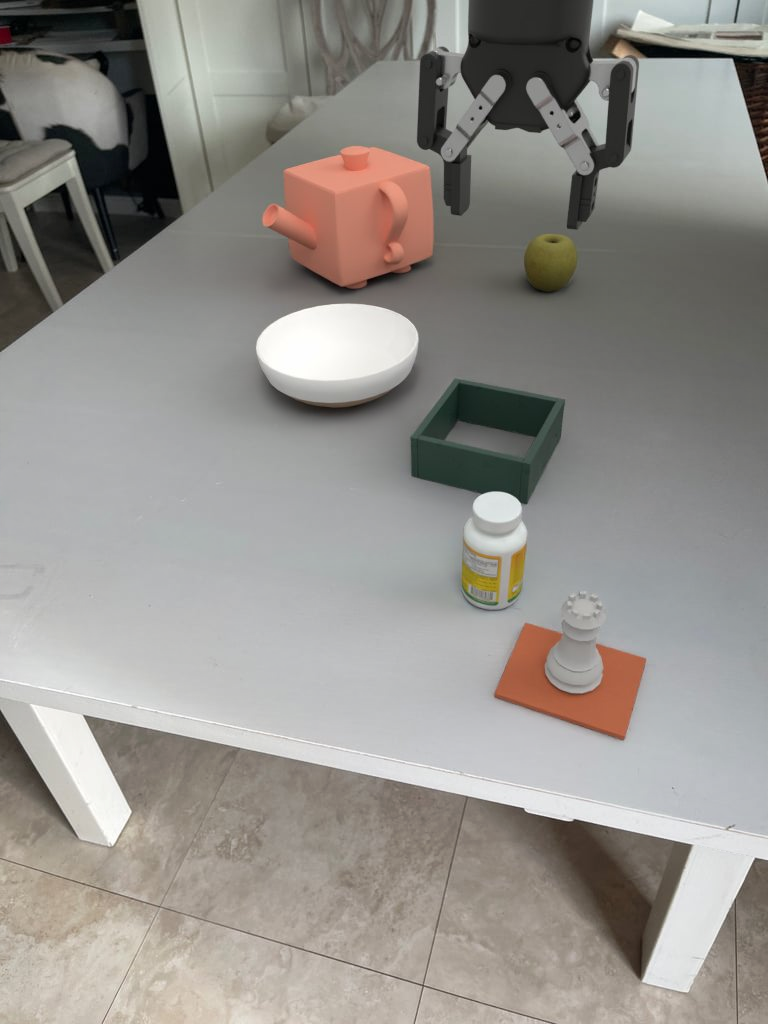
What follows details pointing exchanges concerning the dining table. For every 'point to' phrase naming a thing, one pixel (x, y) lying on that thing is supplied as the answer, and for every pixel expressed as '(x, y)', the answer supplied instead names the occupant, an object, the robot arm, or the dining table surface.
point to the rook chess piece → (577, 646)
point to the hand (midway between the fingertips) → (515, 218)
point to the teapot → (356, 215)
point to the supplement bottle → (494, 551)
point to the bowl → (338, 353)
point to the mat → (591, 709)
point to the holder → (481, 465)
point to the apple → (550, 261)
